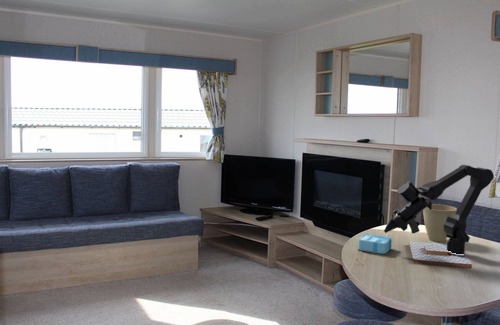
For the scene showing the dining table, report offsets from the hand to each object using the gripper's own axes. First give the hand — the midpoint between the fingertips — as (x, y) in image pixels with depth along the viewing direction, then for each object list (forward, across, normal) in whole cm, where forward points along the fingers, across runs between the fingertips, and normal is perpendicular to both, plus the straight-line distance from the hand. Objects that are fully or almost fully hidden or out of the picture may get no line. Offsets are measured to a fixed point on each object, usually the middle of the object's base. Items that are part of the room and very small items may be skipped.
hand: (384, 231), depth 201 cm
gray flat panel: (+9, +3, -3) cm, 10 cm away
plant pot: (-11, +30, -24) cm, 40 cm away
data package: (+3, +1, -6) cm, 7 cm away
